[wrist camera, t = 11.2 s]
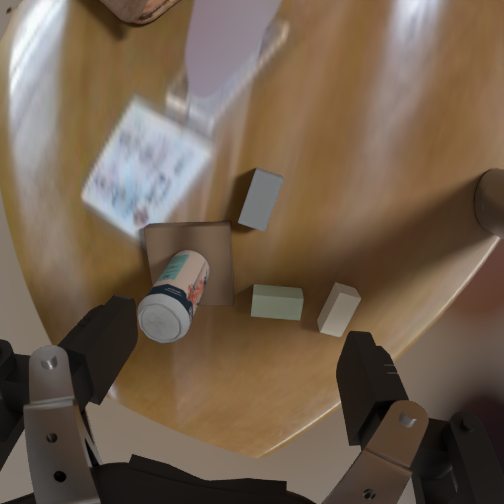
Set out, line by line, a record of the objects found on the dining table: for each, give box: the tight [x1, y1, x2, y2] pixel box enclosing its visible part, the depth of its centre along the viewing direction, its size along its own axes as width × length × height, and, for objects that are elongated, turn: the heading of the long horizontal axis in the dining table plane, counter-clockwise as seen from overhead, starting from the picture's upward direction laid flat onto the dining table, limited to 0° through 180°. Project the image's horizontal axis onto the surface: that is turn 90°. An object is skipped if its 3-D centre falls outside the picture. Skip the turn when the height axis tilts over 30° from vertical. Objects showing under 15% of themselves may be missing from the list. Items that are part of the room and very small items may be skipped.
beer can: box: [137, 250, 210, 343], centre depth 30 cm, size 5×5×12 cm
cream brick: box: [317, 282, 361, 337], centre depth 37 cm, size 6×3×3 cm, turn 162°
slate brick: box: [238, 168, 284, 232], centre depth 33 cm, size 6×3×3 cm, turn 162°
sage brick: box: [251, 284, 304, 320], centre depth 37 cm, size 6×3×3 cm, turn 85°
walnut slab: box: [144, 221, 235, 306], centre depth 36 cm, size 10×10×2 cm
